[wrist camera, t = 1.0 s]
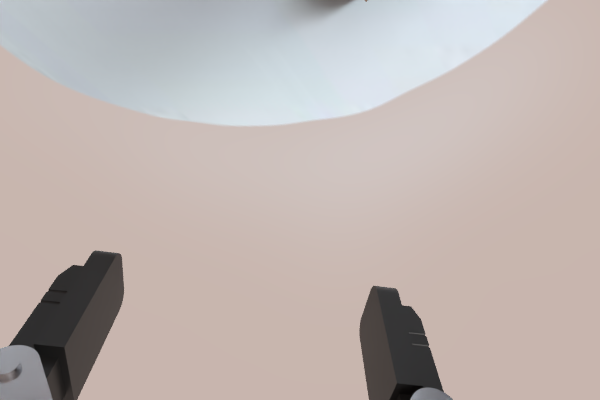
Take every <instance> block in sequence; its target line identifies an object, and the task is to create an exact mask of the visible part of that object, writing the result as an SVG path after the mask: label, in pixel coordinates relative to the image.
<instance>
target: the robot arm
mask: <svg viewBox="0 0 600 400" xmlns="http://www.w3.org/2000/svg"><path fill="white" fill-rule="evenodd" d="M123 295H124V283H123V268H122V257H121V254H119V253H111V252H103V251H94V252H93V253H92V254H91V256H90V257H89V258H88V260H87V262H86V263H85V265H84V266H77V265H73V266H71V267H70V268H68V269H67V270H66V271H64V272H63V273H61V274H60V275H58V277H57V278H56V279H55V281H54V282H53V284H52V285H51V287H50V288H49V291H48V292H46V294H45V295H44V297H43V298H42V300H41V303H39V304H38V305H37V307H36V308H35V309H34V311H33V312H32V314H31V315H30V317H29V318H28V319H27V321H26V322H25V324H24V325H23V327H22V328H21V329H20V331H19V332H18V334H17V335H16V337H15V338H14V339H13V341H12V342H11V344H10V345H9V346H8V347H4V348H1V349H0V400H77V399H78V396H79V394H80V392H81V390H82V388H83V386H84V384H85V382H86V379H87V377H88V375H89V373H90V371H91V369H92V367H93V365H94V363H95V361H96V358H97V356H98V354H99V352H100V350H101V348H102V346H103V344H104V341H105V339H106V337H107V335H108V333H109V331H110V329H111V327H112V325H113V323H114V320H115V318H116V316H117V314H118V312H119V310H120V307H121V304H122V301H123ZM360 342H361V348H362V355H363V362H364V368H365V375H366V382H367V389H368V395H369V400H452V398H450V396H448V395H447V394H446V393H444V391H443V389H442V385H441V382H440V379H439V376H438V373H437V369H436V366H435V363H434V360H433V357H432V353H431V350H430V348H429V347H428V346H429V344H428V341H427V337H426V336H425V331H424V328H423V325H422V321H421V319H420V318H419V316H418V315H417V314H416V313H415V311H414V310H413V309H412V308H411V307H410V306H402V304H401V301H400V297H399V293H398V291H397V289H395V288H387V287H379V286H373V287H372V289H371V291H370V294H369V297H368V300H367V303H366V306H365V309H364V312H363V315H362V318H361V322H360Z"/></svg>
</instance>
